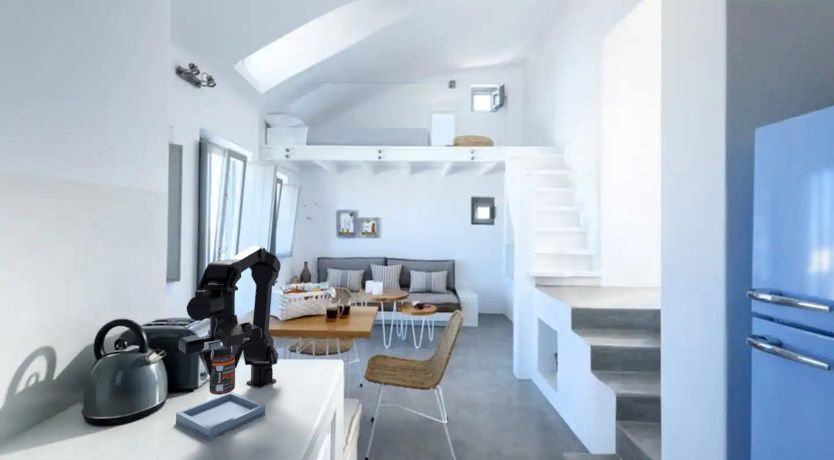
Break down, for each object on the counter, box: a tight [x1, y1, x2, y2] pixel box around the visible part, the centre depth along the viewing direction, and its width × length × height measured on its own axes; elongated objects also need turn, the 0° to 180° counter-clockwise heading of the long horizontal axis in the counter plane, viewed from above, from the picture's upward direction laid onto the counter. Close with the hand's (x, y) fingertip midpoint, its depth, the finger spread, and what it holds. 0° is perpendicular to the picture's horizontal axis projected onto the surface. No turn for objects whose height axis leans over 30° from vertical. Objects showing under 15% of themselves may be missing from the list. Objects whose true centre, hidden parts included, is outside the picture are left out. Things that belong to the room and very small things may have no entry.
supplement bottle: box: [208, 344, 236, 396], centre depth 101 cm, size 6×6×11 cm
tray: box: [175, 391, 266, 442], centre depth 102 cm, size 15×15×2 cm
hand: (222, 371), depth 101 cm, fingers closed on supplement bottle, 6 cm apart
